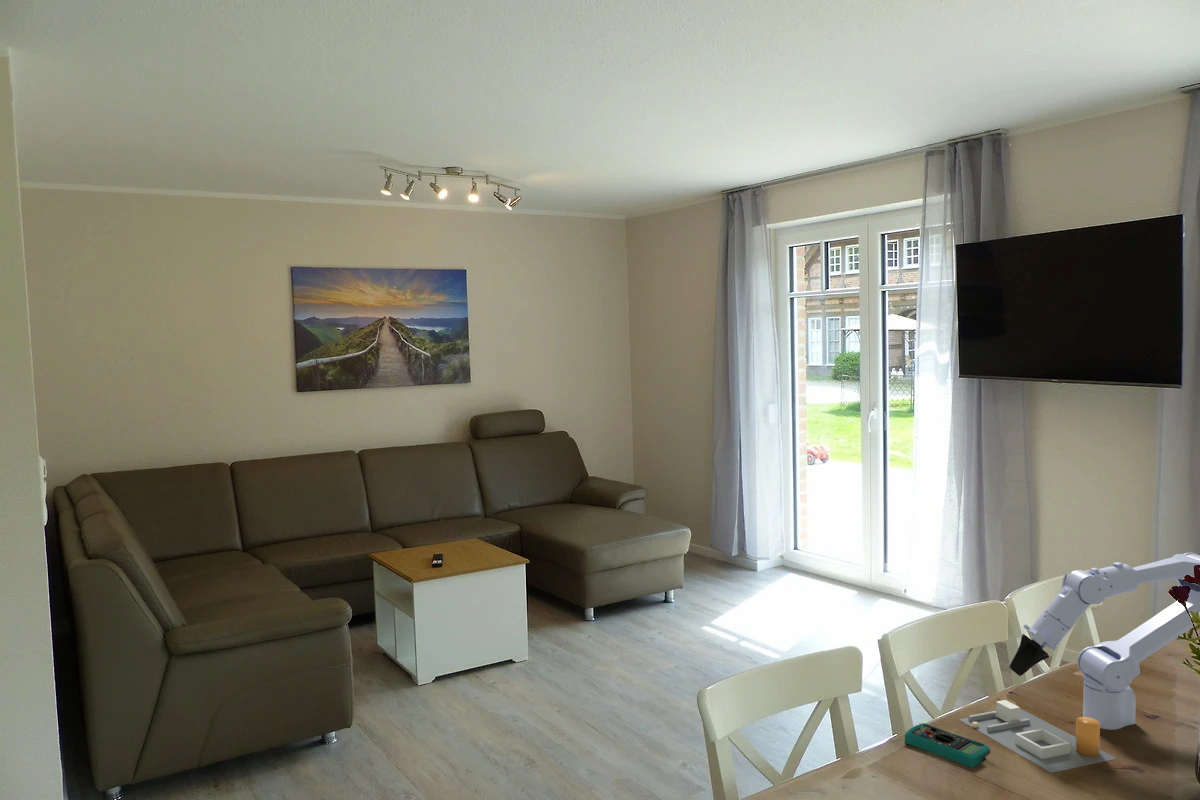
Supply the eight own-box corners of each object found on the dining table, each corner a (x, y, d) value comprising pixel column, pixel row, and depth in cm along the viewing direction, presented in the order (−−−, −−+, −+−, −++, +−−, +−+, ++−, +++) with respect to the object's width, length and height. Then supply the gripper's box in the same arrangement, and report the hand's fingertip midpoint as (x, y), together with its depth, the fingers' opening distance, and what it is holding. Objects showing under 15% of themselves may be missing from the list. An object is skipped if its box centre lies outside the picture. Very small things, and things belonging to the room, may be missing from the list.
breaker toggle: (1005, 714, 182) (1005, 699, 182) (1019, 722, 178) (1019, 707, 178) (995, 716, 181) (996, 701, 181) (1010, 724, 178) (1010, 709, 177)
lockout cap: (1086, 745, 169) (1087, 715, 168) (1104, 754, 165) (1105, 724, 164) (1070, 748, 167) (1071, 718, 167) (1088, 758, 164) (1088, 727, 163)
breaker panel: (1019, 713, 186) (1019, 699, 186) (1117, 764, 163) (1117, 748, 163) (958, 724, 181) (958, 710, 181) (1051, 779, 158) (1051, 762, 158)
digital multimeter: (920, 733, 179) (920, 719, 178) (991, 758, 167) (991, 744, 167) (901, 744, 174) (901, 730, 174) (973, 771, 163) (973, 756, 162)
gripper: (1039, 611, 185) (999, 660, 186) (1037, 603, 173) (995, 656, 174) (1070, 634, 182) (1029, 683, 182) (1070, 627, 169) (1027, 680, 170)
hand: (1014, 672), depth 178 cm, fingers open, 7 cm apart
